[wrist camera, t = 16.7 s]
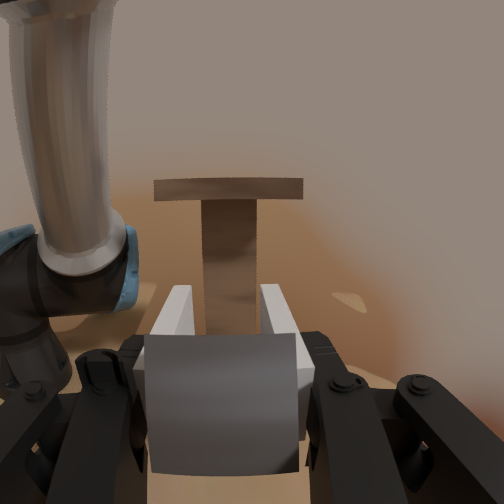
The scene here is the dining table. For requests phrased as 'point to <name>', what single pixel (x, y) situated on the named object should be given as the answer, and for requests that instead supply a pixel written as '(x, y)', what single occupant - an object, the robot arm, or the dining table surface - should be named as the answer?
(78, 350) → the dining table surface
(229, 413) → the bar
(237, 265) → the stand
